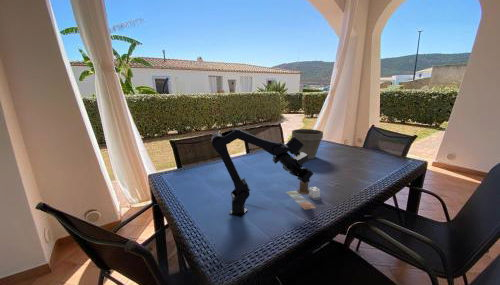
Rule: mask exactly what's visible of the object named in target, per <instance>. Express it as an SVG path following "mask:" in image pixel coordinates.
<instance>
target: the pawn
mask: <svg viewBox="0 0 500 285" xmlns="http://www.w3.org/2000/svg"><path fill="white" fill-rule="evenodd" d="M303 168H304V167H302V168H301V169H303ZM297 192H298V193H299V194H300V195H302V196H303V195H306V196H307V194H309V182H306V183H303V182H301V181H300V180H299V188H297Z"/></svg>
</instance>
